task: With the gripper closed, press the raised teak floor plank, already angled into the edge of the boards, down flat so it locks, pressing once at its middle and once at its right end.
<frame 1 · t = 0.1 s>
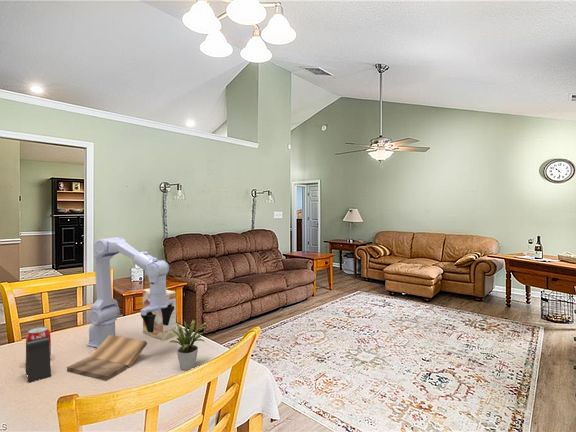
hand: (158, 328, 124), 10 cm above the table, fingers open, 7 cm apart
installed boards: (96, 370, 112), on the table
house plant: (189, 368, 114), on the table
teak plank: (118, 350, 121), point 3 cm above the table, hinge at 30.0°
phone stand: (38, 375, 109), on the table
coffeecake box: (159, 334, 144), on the table
soda can: (39, 362, 118), on the table
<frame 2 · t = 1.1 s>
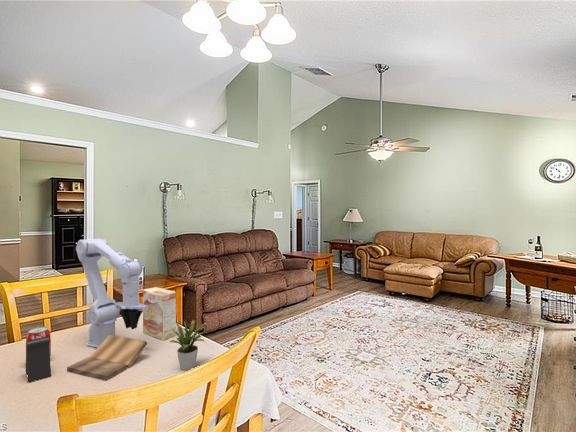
hand: (131, 327, 126), 9 cm above the table, fingers closed
nothing on the table moved.
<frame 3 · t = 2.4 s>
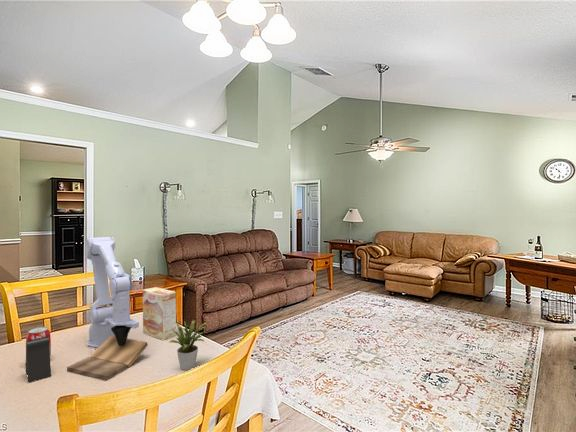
hand: (122, 344, 122), 5 cm above the table, fingers closed, pressing on teak plank
teak plank: (119, 350, 121), point 3 cm above the table, hinge at 26.1°, touching gripper
everything else where it was.
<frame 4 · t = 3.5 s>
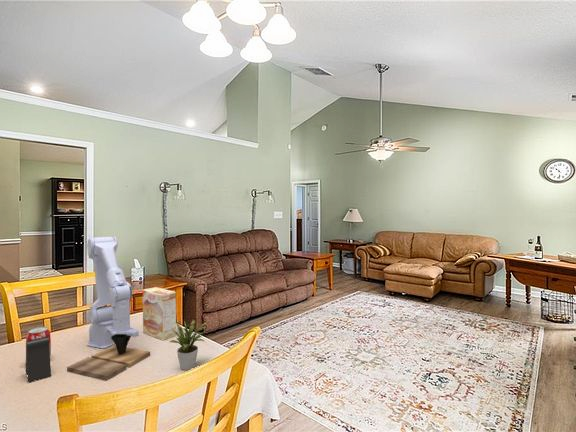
hand: (121, 353, 122), 1 cm above the table, fingers closed, pressing on teak plank
teak plank: (121, 355, 122), point 1 cm above the table, hinge at -0.2°, touching gripper
everything else where it was.
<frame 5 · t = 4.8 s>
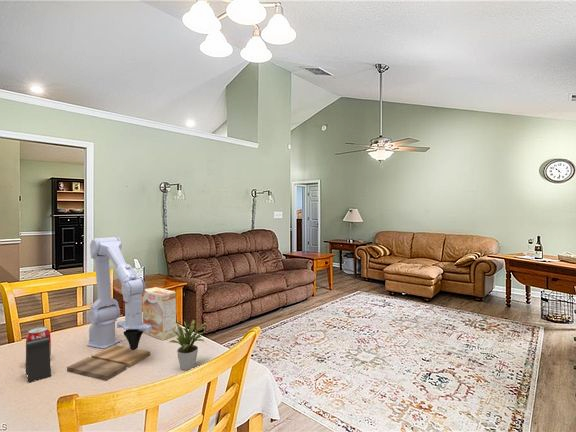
hand: (134, 348, 120), 4 cm above the table, fingers closed
teak plank: (121, 355, 122), point 1 cm above the table, hinge at -0.1°
everything else where it was.
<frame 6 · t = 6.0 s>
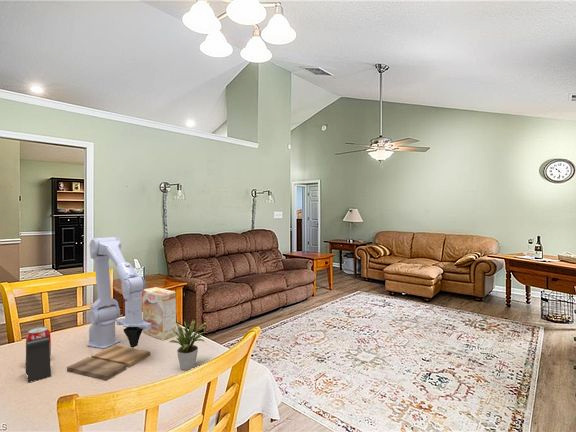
hand: (134, 346, 120), 5 cm above the table, fingers closed
nothing on the table moved.
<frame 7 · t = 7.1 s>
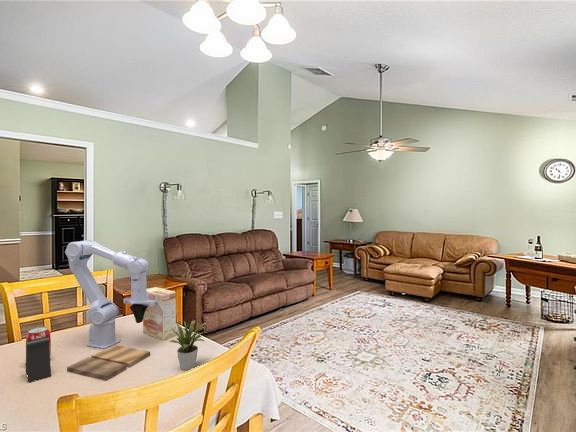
hand: (139, 322, 132), 9 cm above the table, fingers closed
nothing on the table moved.
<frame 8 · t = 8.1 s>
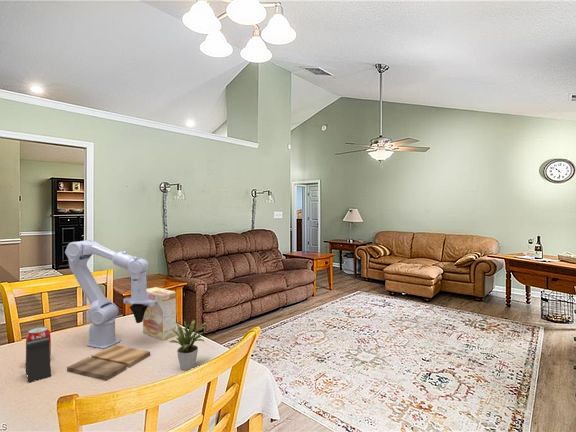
hand: (139, 322, 132), 9 cm above the table, fingers closed
nothing on the table moved.
at the end: teak plank at +0° (first picture: +30°); the gripper is holding nothing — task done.
